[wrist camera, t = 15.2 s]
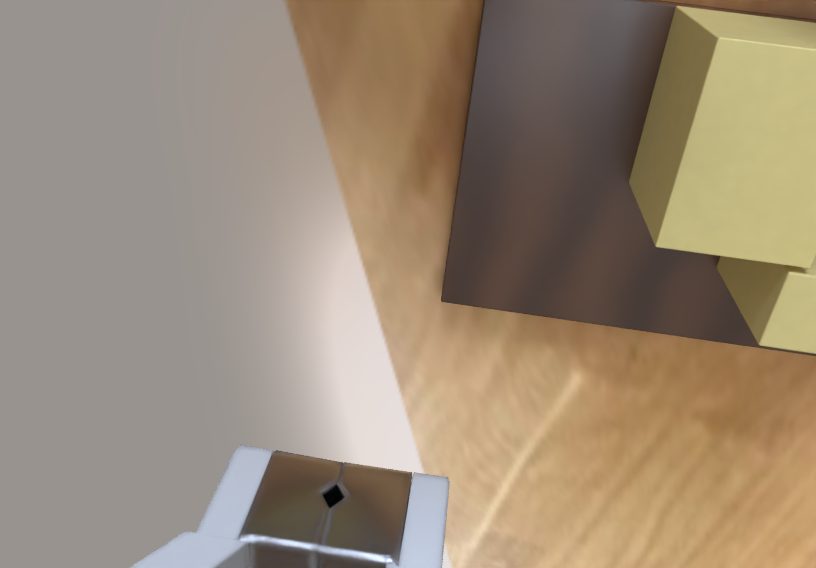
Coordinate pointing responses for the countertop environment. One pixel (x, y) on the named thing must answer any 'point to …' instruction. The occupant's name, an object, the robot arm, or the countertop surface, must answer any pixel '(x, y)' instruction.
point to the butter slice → (774, 301)
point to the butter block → (732, 139)
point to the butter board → (574, 176)
